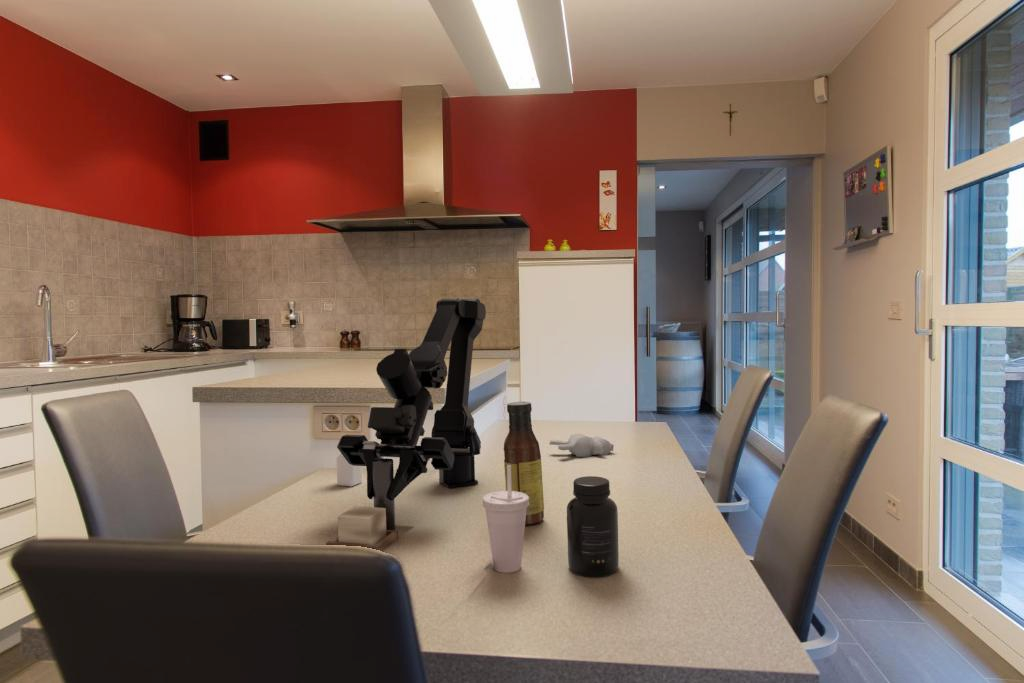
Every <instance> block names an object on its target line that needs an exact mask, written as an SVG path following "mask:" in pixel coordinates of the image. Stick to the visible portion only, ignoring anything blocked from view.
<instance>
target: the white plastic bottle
mask: <svg viewBox="0 0 1024 683" xmlns="http://www.w3.org/2000/svg"><path fill="white" fill-rule="evenodd" d="M336 482H337V485H338V486H343V487H353V486H356V485H358V484H361V483H362V482H363V466H353V465H351V464H349V463H348V462H347V460H346V459H345V458H344V456H343V455H342V454H341V453H340V454H339V455H337V456H336Z"/></svg>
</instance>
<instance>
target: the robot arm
mask: <svg viewBox="0 0 1024 683" xmlns="http://www.w3.org/2000/svg"><path fill="white" fill-rule="evenodd" d="M435 306H436V307H435V308H436V309H435V312H434V314H433V317H432V319H431V321H430V324H429V326H428V328H427V330H426V333H425V335H424V338H423V340H422V342H421V343H420V345H419V346H417V347H415V348H414V349H412V350H411V351H410V352H408V350H407V348H395V349H394V351H393V353H390V354H388V355H386V356H385V357H384V358H382V359H381V360H380V361H379V362H378V363H377V365H376V368H375V370H376V374H377V375H378V377H379V380H380V381H381V383H382V385H384V387H385V389H386V392H387V393H388V395H389V396H390V397H391V398H393V399H394V400H396V401H395V403H394V406H393V407H389V406H388V407H386V406H385V407H383V406H382V407H381V406H372V407H371V408H370V412H369V417H368V422H367V423H368V424H367V428H368V429H372V430H374V431H376V432H375V434H374V436H375V437H376V439H377V440H380V442H379V443H378V441H374V440H368V438H367V436H366V435H364V434H344V435H342V436H340V437H341V438H339V441H338V443H337V446H336V448H337V449H338V451H339V452H340V454H342V455H343V456H344V458H345V459H346V460H347V462H348V463H349V464H351V465H353V466H362V467H366V496H367V498H368V500H373V499H374V498H373V467H372V461H373V460H376V459H384V458H399V461H398V462H399V463H398V467H397V469H396V472H395V473H394V474H395V475H394V479H393V482H392V485H391V488H390V491H389V495H388V498H389V500H391V501H392V500H394V501H395V499H396V498H397V497H398V496H399V495H400V494H401V493H402V492H403V491H404V490H405V488H407V487H408V486H409V485H410V484H411V483H412V482H413V481H414V480H416V479H417V478H418V477H419V476H420V475H422V474H426V473H427V472H428V471H429V470H428V467H427V465H428V462H429V461H430V459H431V461H430V464H431V466H432V467H433V469H434V470H436V471H437V470H438V475H439V478H438V482H440V483H441V484H442V485H444V486H446V487H447V488H451V489H452V488H457V487H463V486H470V485H476V484H479V480H477V479H476V474H475V473H476V471H475V470H476V469H475V468H476V466H475V456H477V455H481V448H482V444H481V442H482V441H481V439H480V437H479V434H478V432H477V430H476V427H475V419H474V417H473V415H472V413H471V411H470V409H469V394H470V383H471V373H472V372H471V371H472V362H473V352H474V351H473V349H474V341H475V340H476V338H477V337H478V335H480V332H482V330H483V324H484V320H485V319H486V315H487V314H486V313H487V311H486V305H485V304H484V303H482V302H481V300H480V299H479V298H459V297H454V298H453V297H452V298H441V299H440V300H439V299H438V300H437V302H436V304H435ZM449 347H450V349H449ZM448 349H449V358H448V359H449V360H448V367H447V364H446V361H445V357H446V354H447V351H448ZM445 382H446V390H445V400H444V404H443V405H442V407H441V408H440V409H436V411H435V413H434V419H433V427H432V429H431V436H425V437H424V435H425V431H426V430H425V429H424V427H423V426H424V423H425V420H426V418H427V415H428V411H433V410H434V403H433V401H432V398H433V397H432V394H431V392H430V391H429V389H435V390H436V389H440V388H441V387H442V386H443V384H444V383H445ZM420 437H422V438H421V441H420V444H419V445H418V442H419V439H420Z"/></svg>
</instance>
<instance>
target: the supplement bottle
mask: <svg viewBox="0 0 1024 683" xmlns="http://www.w3.org/2000/svg"><path fill="white" fill-rule="evenodd" d="M572 483H573V484H572V485H573V492H572V494H573V498H572V499H571V500H569V502H568V503H567V506H566V533H567V534H566V535H567V536H566V537H567V563H568V564H567V565H568V567H569V569H570V570H571V572H573V573H574V574H576V575H579V576H581V577H586V578H603V577H608V576H611V575H613V574H615V572H616V571H618V568H619V564H620V563H619V554H620V553H619V552H620V551H619V512H618V506H617V504H616V502H615V501H614V500H613V499H611V498H610V497H609V496H610V495H611V489H610V481H609V479H608V478H605V477H601V476H597V475H596V476H593V475H590V476H580V477H576V478H575V479H574V480H573V482H572ZM574 496H575V497H574Z"/></svg>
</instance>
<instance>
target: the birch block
mask: <svg viewBox="0 0 1024 683" xmlns="http://www.w3.org/2000/svg"><path fill="white" fill-rule="evenodd" d="M337 531H338V533H337V534H338V536H337V537H338V539H339V542H347V543H359V544H371V545H376V544H377V543H379V542H380V541H381V540H383V539H384V538H385V537H387V536H386V508H377V507H374V506H361V505H360V506H359V505H358V506H357V505H356V506H354V507H352V508H350V509H348V510H347V511H345V512H343V513H341V514H340V515H338V516H337Z"/></svg>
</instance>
